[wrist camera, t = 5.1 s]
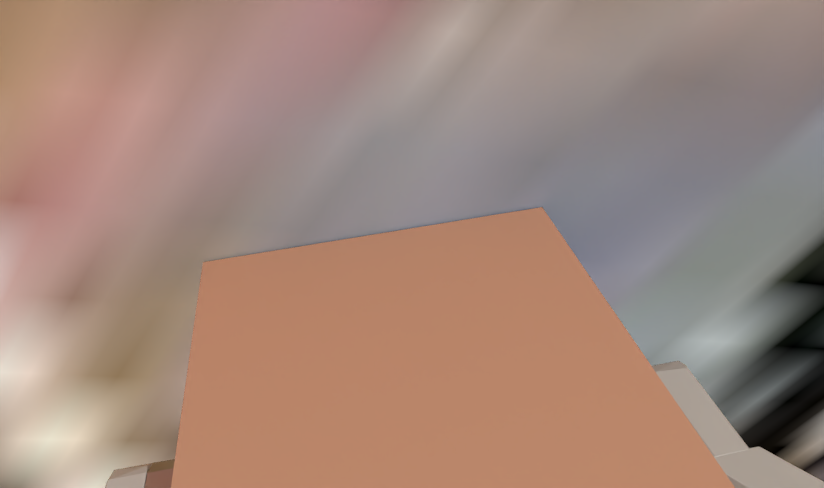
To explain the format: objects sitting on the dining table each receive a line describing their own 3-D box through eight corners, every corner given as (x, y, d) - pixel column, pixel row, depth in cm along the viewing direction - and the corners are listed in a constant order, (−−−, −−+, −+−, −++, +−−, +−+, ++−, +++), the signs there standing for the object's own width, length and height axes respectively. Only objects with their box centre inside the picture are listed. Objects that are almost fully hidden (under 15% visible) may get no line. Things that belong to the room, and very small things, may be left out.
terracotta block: (541, 207, 10) (744, 501, 6) (530, 425, 12) (657, 724, 8) (203, 262, 9) (149, 633, 5) (272, 477, 12) (274, 824, 8)
